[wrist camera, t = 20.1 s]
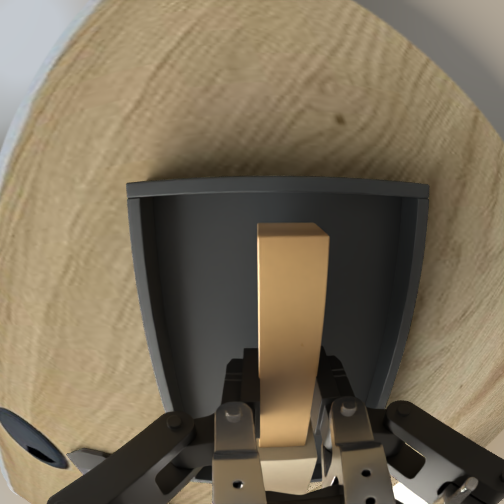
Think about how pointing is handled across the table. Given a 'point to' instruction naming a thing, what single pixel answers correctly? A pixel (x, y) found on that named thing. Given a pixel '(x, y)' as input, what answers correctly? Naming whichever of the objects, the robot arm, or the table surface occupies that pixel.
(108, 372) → the table surface
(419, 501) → the syrup box
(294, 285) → the brush
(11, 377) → the table surface
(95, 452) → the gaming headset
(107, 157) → the table surface
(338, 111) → the table surface
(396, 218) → the brush tray
